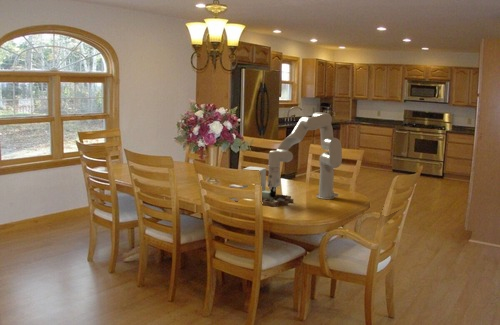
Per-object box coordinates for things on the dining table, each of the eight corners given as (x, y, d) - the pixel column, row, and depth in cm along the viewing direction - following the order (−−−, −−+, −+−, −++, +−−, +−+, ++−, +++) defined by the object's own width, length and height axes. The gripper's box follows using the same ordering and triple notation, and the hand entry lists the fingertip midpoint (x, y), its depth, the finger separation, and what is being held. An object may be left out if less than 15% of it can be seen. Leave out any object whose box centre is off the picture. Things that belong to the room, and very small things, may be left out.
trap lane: (297, 200, 329) (298, 193, 329) (282, 207, 308) (283, 200, 308) (266, 196, 340) (267, 189, 339) (250, 202, 319) (250, 195, 318)
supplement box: (248, 189, 359) (249, 166, 356) (265, 191, 354) (266, 167, 351) (241, 193, 347) (242, 168, 344) (258, 195, 342) (259, 170, 339)
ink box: (243, 204, 315) (243, 186, 313) (237, 205, 312) (238, 187, 310) (233, 201, 321) (234, 183, 319) (228, 202, 317) (228, 184, 316)
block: (272, 200, 328) (272, 191, 327) (268, 202, 323) (269, 193, 322) (264, 199, 331) (264, 190, 330) (260, 200, 326) (260, 191, 325)
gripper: (274, 171, 313) (273, 199, 316) (284, 168, 326) (282, 195, 329) (263, 170, 317) (262, 198, 320) (273, 167, 330) (272, 194, 333)
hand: (272, 196), depth 324 cm, fingers closed
